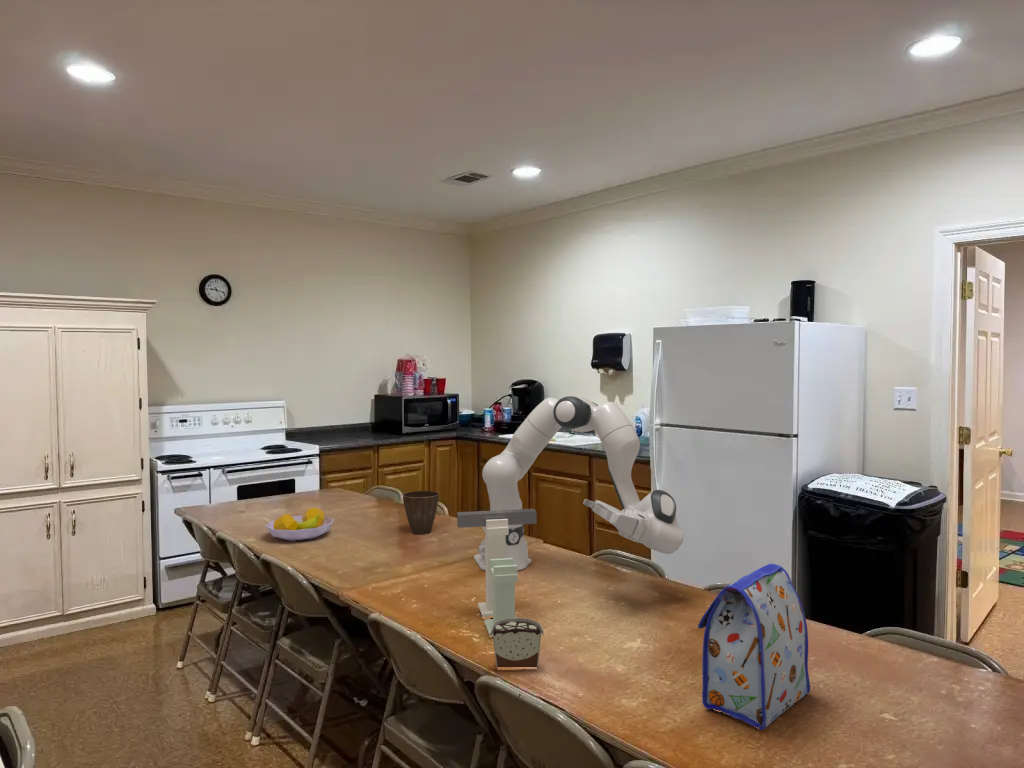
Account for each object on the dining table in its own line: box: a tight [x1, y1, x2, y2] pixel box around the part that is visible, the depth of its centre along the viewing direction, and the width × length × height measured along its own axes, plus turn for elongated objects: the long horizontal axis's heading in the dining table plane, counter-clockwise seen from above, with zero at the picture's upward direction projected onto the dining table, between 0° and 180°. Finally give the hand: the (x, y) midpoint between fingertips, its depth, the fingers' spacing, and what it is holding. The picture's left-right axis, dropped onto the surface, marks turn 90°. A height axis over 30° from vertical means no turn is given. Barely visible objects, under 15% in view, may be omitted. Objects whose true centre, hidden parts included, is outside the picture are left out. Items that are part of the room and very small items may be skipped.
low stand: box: [483, 558, 519, 637], centre depth 178 cm, size 9×9×18 cm
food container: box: [490, 617, 545, 668], centre depth 158 cm, size 12×6×10 cm, turn 92°
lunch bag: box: [697, 563, 811, 731], centre depth 141 cm, size 23×17×27 cm
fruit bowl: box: [265, 506, 335, 542], centre depth 276 cm, size 28×27×11 cm
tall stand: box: [477, 519, 509, 618], centre depth 191 cm, size 9×9×27 cm
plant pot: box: [402, 490, 440, 535], centre depth 282 cm, size 15×15×16 cm
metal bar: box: [456, 508, 538, 529], centre depth 191 cm, size 22×4×4 cm, turn 100°
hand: (589, 504), depth 195 cm, fingers open, 8 cm apart
